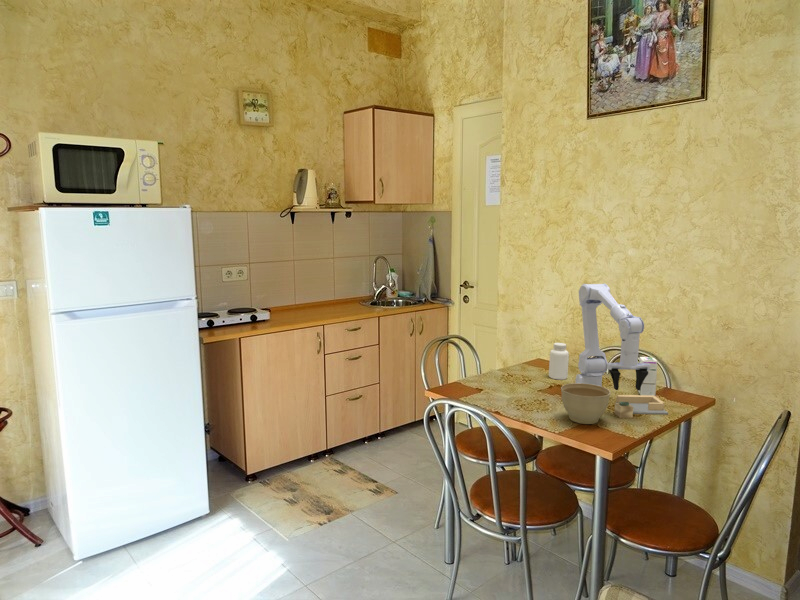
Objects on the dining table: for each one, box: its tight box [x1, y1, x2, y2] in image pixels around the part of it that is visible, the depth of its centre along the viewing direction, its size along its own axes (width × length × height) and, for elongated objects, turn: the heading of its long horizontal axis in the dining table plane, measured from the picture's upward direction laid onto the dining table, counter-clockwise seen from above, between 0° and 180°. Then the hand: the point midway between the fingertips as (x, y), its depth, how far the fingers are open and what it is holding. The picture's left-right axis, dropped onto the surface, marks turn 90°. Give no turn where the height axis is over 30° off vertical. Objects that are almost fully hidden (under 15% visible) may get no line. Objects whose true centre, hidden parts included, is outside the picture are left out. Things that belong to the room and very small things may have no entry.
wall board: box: [615, 394, 669, 415], centre depth 204 cm, size 14×12×3 cm
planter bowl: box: [560, 382, 611, 425], centre depth 192 cm, size 16×16×11 cm
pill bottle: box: [548, 342, 570, 381], centre depth 243 cm, size 8×8×15 cm
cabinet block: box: [614, 402, 634, 419], centre depth 197 cm, size 4×4×5 cm
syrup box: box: [637, 356, 658, 396], centre depth 221 cm, size 6×6×14 cm
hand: (626, 389), depth 196 cm, fingers open, 7 cm apart
